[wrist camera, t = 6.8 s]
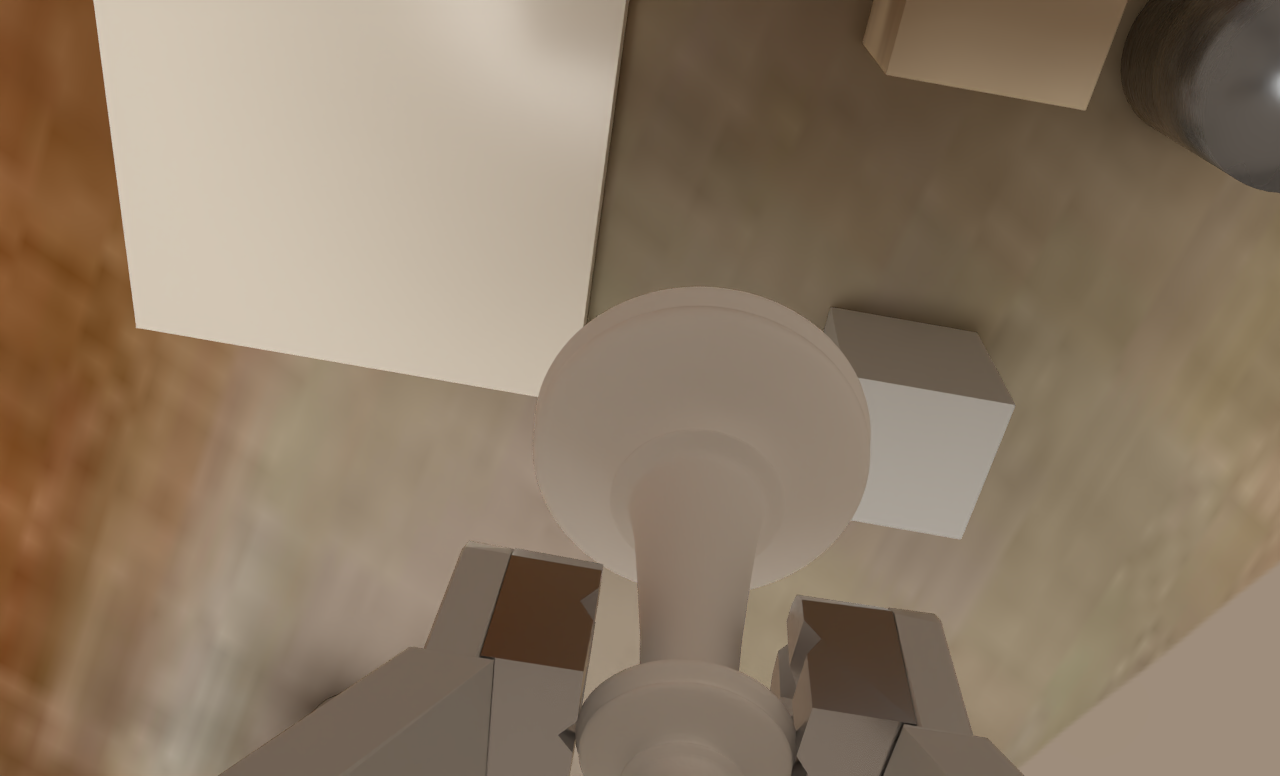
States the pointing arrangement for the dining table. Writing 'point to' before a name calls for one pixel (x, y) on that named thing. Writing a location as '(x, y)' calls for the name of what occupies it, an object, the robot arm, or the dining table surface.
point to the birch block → (997, 45)
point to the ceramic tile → (365, 175)
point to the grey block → (923, 418)
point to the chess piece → (697, 508)
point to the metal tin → (1211, 81)
